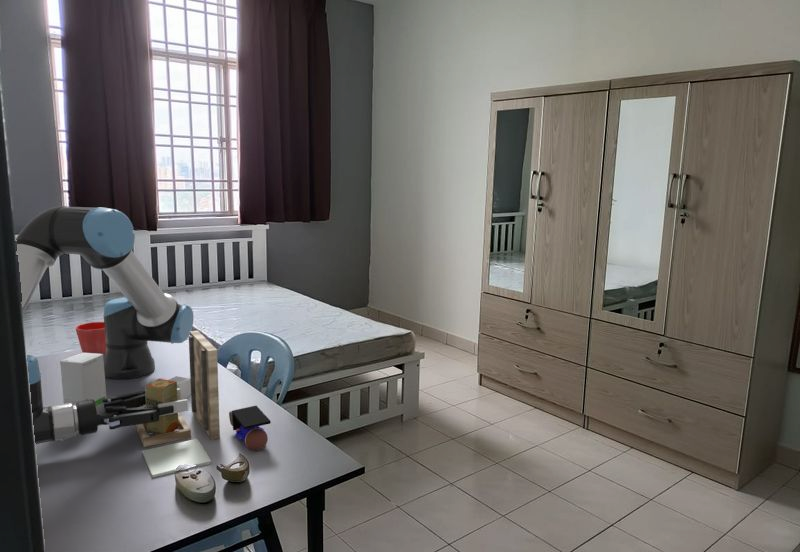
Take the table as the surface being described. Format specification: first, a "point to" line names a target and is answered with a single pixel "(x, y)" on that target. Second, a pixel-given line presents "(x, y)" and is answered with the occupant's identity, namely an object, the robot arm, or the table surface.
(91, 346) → the flower pot
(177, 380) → the white cube
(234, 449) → the table surface
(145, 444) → the board
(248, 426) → the figurine character
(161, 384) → the shoe polish box
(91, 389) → the skincare box
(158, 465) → the sage mat
